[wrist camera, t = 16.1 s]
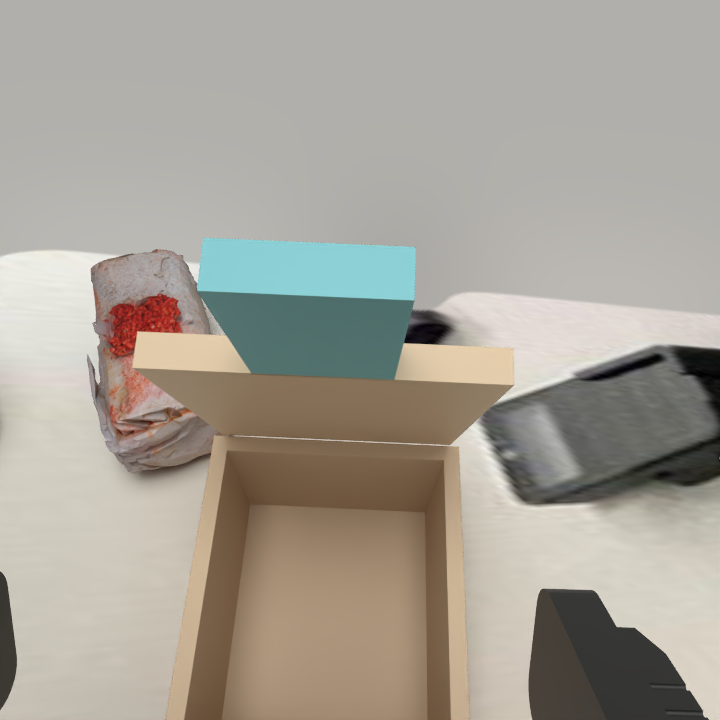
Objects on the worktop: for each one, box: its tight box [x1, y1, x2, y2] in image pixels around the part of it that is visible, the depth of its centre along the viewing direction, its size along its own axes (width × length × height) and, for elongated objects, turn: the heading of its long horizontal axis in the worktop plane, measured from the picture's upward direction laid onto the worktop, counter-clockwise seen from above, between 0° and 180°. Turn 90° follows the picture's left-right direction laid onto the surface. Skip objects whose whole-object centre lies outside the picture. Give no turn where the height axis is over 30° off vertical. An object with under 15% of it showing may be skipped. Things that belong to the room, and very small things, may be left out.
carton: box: [165, 436, 470, 720], centre depth 34 cm, size 13×14×10 cm
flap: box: [132, 238, 514, 445], centre depth 23 cm, size 12×21×1 cm
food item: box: [87, 249, 230, 473], centre depth 42 cm, size 14×8×10 cm, turn 19°
